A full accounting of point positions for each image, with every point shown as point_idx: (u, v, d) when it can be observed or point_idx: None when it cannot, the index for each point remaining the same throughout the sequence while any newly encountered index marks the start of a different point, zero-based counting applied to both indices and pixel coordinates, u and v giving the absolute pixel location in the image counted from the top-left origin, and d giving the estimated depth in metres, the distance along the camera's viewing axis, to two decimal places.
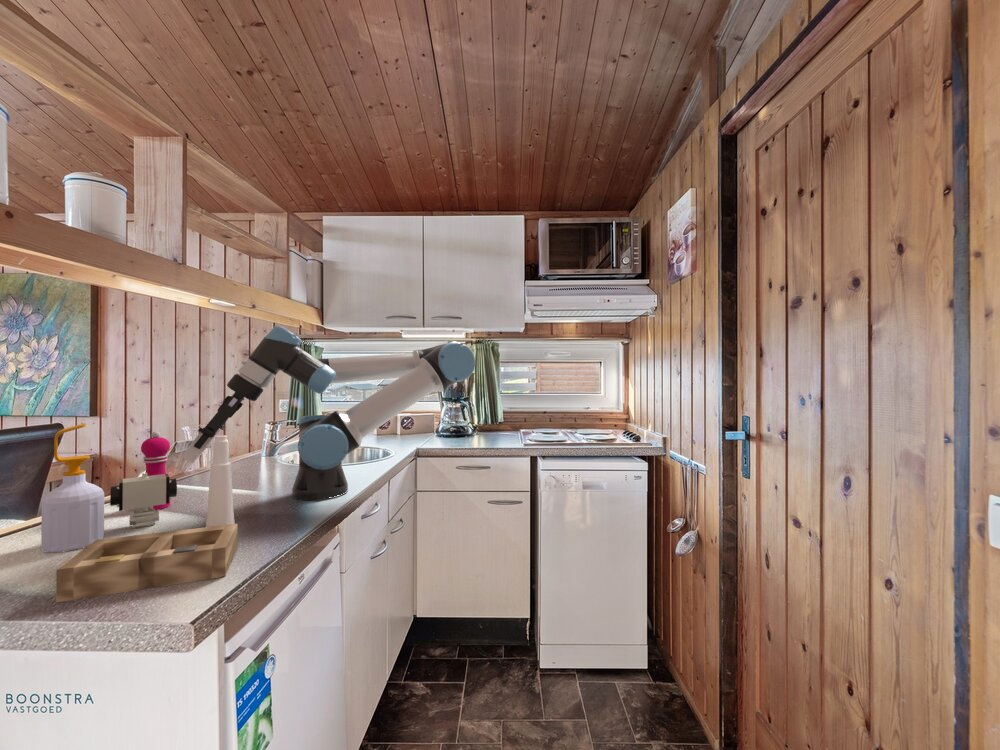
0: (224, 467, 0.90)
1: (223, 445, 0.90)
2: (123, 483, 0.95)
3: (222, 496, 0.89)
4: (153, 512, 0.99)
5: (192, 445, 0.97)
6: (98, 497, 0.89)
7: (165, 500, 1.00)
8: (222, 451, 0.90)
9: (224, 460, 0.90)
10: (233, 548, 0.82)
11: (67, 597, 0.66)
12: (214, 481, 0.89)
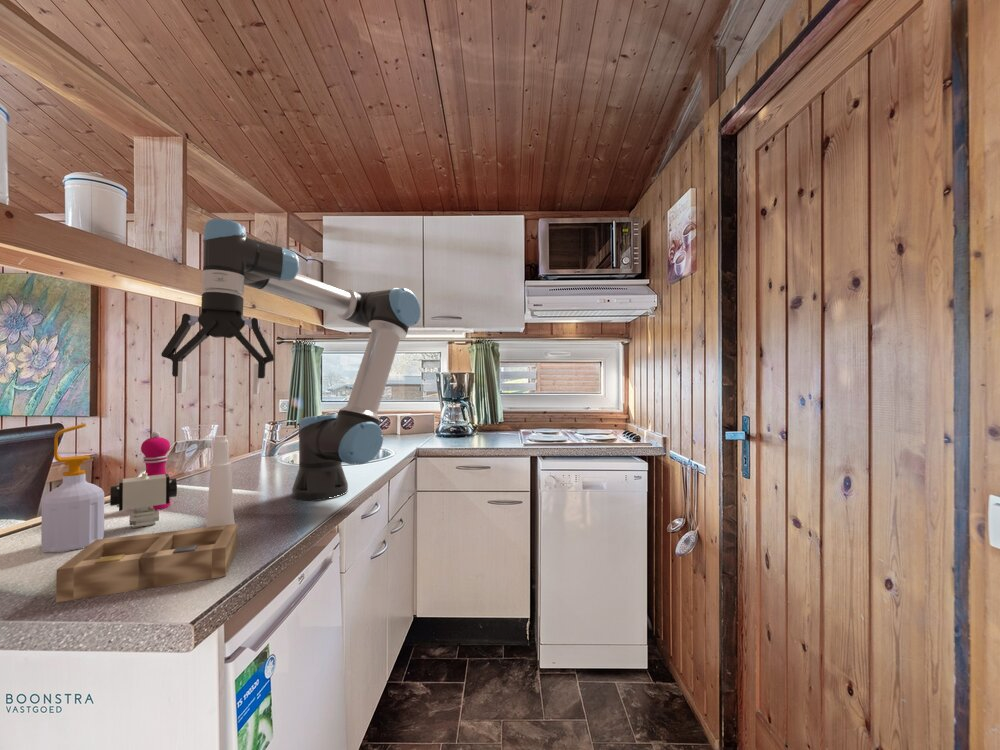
0: (224, 467, 0.90)
1: (223, 445, 0.90)
2: (123, 483, 0.95)
3: (222, 496, 0.89)
4: (153, 512, 0.99)
5: (257, 378, 0.93)
6: (98, 497, 0.89)
7: (165, 500, 1.00)
8: (222, 451, 0.90)
9: (224, 460, 0.90)
10: (233, 548, 0.82)
11: (67, 597, 0.66)
12: (214, 481, 0.89)
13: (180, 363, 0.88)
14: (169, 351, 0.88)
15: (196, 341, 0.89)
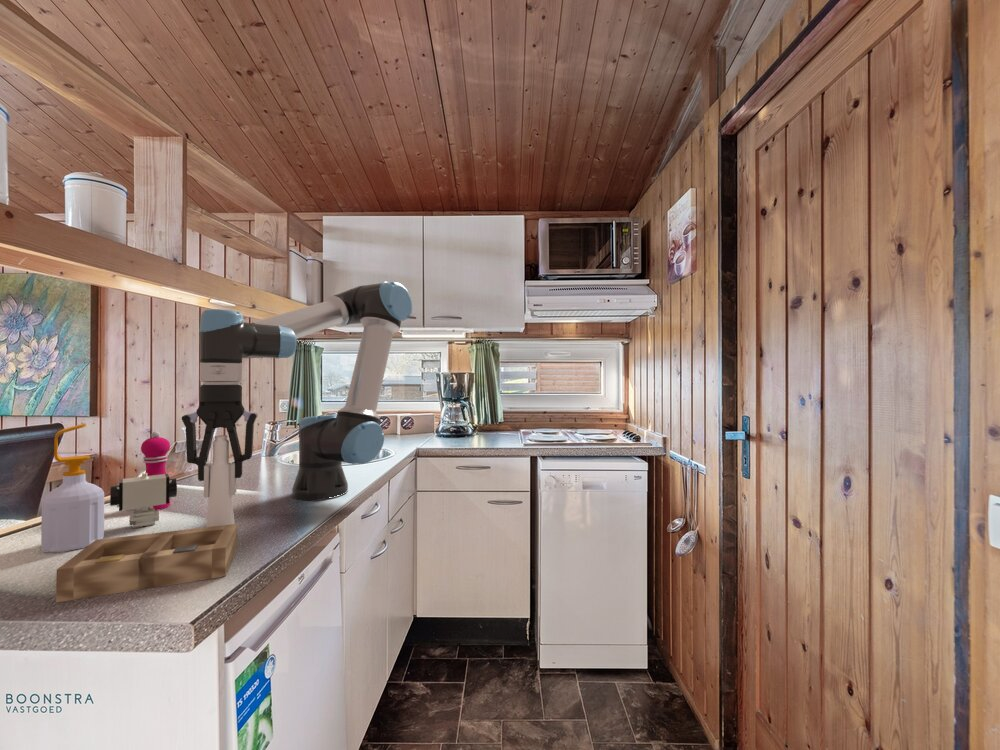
0: (224, 467, 0.90)
1: (223, 445, 0.90)
2: (123, 483, 0.95)
3: (222, 496, 0.89)
4: (153, 512, 0.99)
5: (234, 479, 0.91)
6: (98, 497, 0.89)
7: (165, 500, 1.00)
8: (222, 451, 0.90)
9: (224, 460, 0.90)
10: (233, 548, 0.82)
11: (67, 597, 0.66)
12: (214, 481, 0.89)
13: (206, 468, 0.89)
14: (192, 455, 0.88)
15: (209, 439, 0.89)
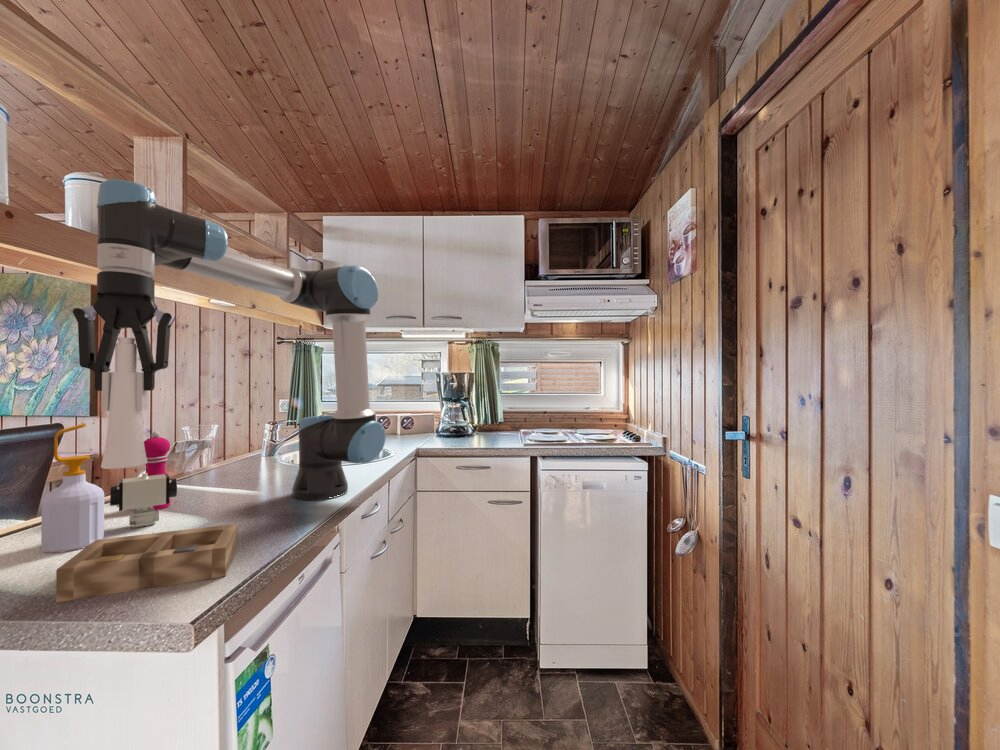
0: (129, 375, 0.73)
1: (127, 348, 0.73)
2: (123, 483, 0.95)
3: (125, 409, 0.73)
4: (153, 512, 0.99)
5: (143, 391, 0.74)
6: (98, 497, 0.89)
7: (165, 500, 1.00)
8: (126, 355, 0.73)
9: (129, 367, 0.74)
10: (233, 548, 0.82)
11: (67, 597, 0.66)
12: (115, 391, 0.72)
13: (105, 374, 0.72)
14: (87, 358, 0.71)
15: (109, 339, 0.72)
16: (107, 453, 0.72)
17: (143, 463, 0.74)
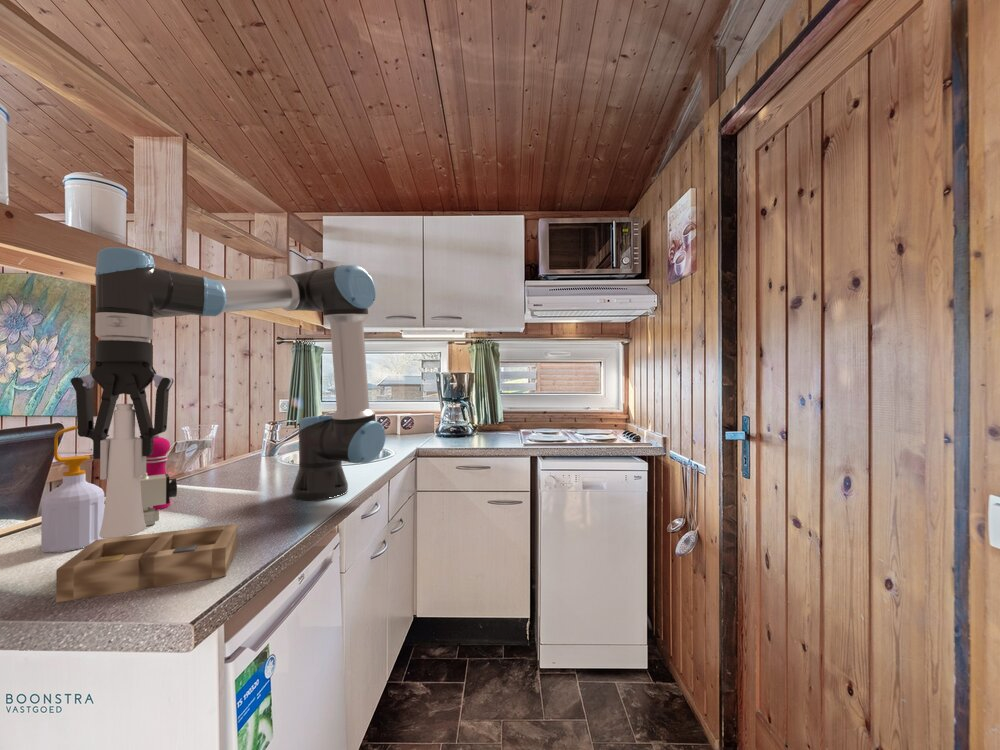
0: (127, 442, 0.73)
1: (126, 415, 0.73)
2: None
3: (123, 477, 0.72)
4: (153, 512, 0.99)
5: (141, 457, 0.74)
6: (98, 497, 0.89)
7: (165, 500, 1.00)
8: (124, 423, 0.73)
9: (127, 434, 0.73)
10: (233, 548, 0.82)
11: (67, 597, 0.66)
12: (113, 459, 0.72)
13: (103, 443, 0.72)
14: (85, 427, 0.71)
15: (107, 407, 0.72)
16: (106, 522, 0.71)
17: (142, 529, 0.74)
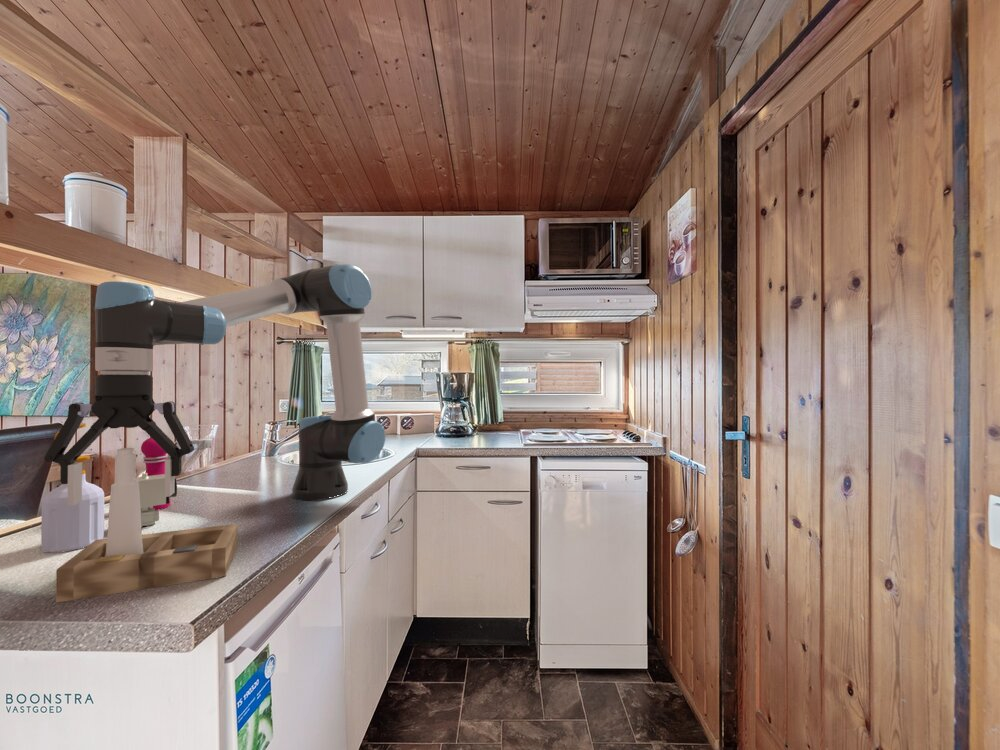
0: (128, 487, 0.73)
1: (127, 460, 0.73)
2: None
3: (124, 523, 0.72)
4: (153, 512, 0.99)
5: (170, 477, 0.76)
6: (98, 497, 0.89)
7: (165, 500, 1.00)
8: (125, 468, 0.73)
9: (129, 479, 0.73)
10: (233, 548, 0.82)
11: (67, 597, 0.66)
12: (114, 505, 0.72)
13: (70, 467, 0.70)
14: (55, 453, 0.70)
15: (90, 437, 0.71)
16: None
17: None
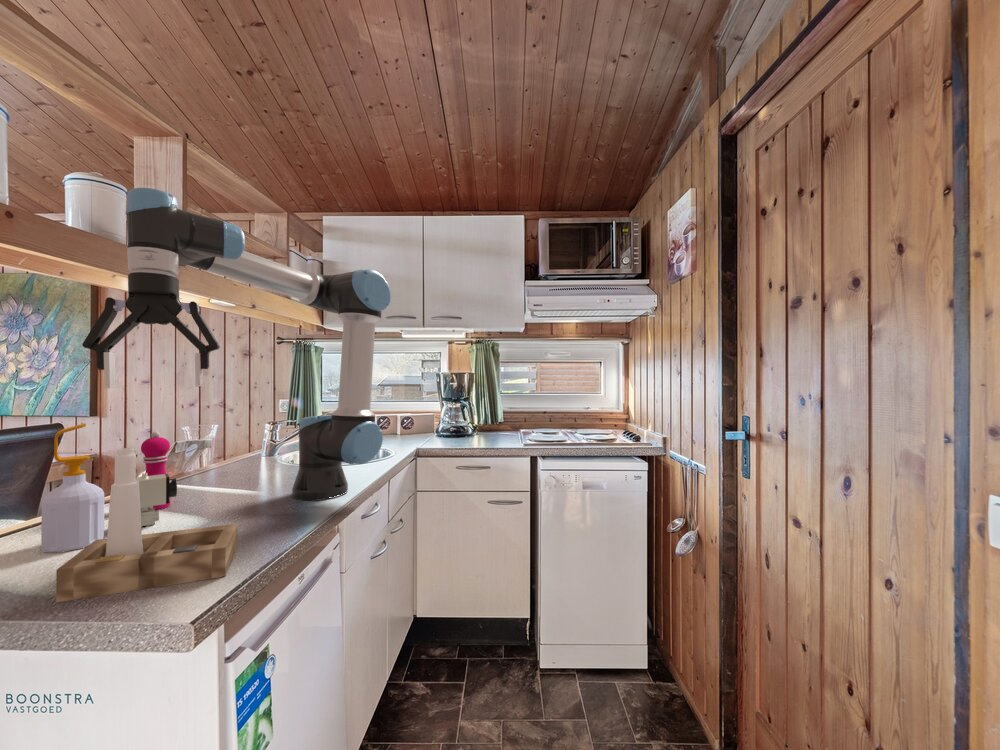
0: (128, 487, 0.73)
1: (127, 460, 0.73)
2: None
3: (124, 523, 0.72)
4: (153, 512, 0.99)
5: (200, 369, 0.84)
6: (98, 497, 0.89)
7: (165, 500, 1.00)
8: (125, 468, 0.73)
9: (128, 479, 0.73)
10: (233, 548, 0.82)
11: (67, 597, 0.66)
12: (114, 505, 0.72)
13: (106, 354, 0.77)
14: (92, 341, 0.77)
15: (124, 329, 0.79)
16: None
17: None
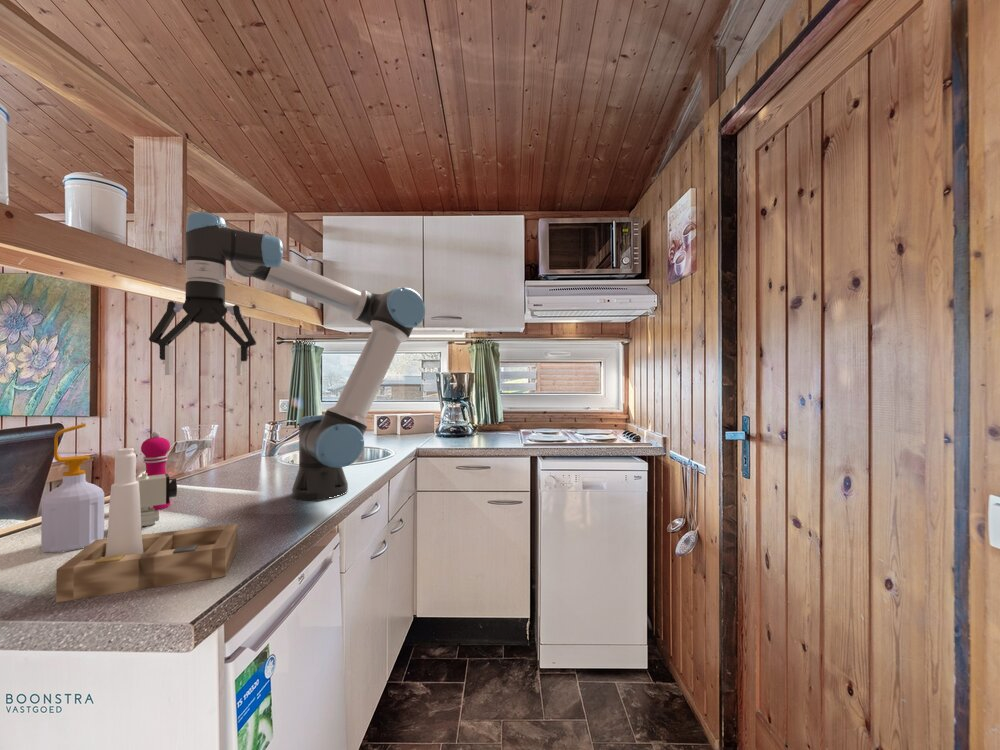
0: (128, 487, 0.73)
1: (127, 460, 0.73)
2: None
3: (124, 523, 0.72)
4: (153, 512, 0.99)
5: (240, 361, 1.01)
6: (98, 497, 0.89)
7: (165, 500, 1.00)
8: (125, 468, 0.73)
9: (128, 479, 0.73)
10: (233, 548, 0.82)
11: (67, 597, 0.66)
12: (114, 505, 0.72)
13: (167, 347, 0.95)
14: (156, 336, 0.94)
15: (181, 327, 0.96)
16: None
17: None
